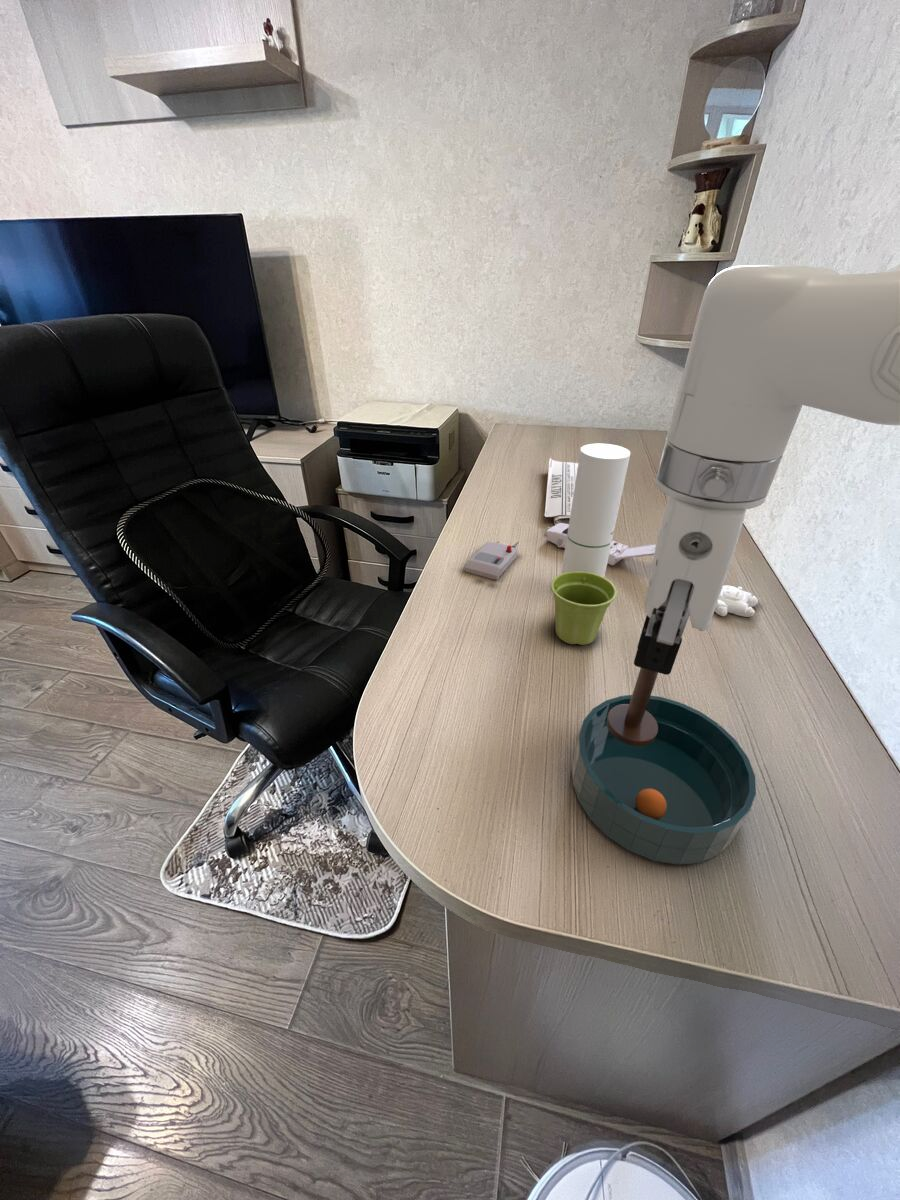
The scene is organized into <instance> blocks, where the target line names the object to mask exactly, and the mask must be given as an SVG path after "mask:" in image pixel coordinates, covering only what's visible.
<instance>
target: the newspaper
mask: <svg viewBox="0 0 900 1200" xmlns="http://www.w3.org/2000/svg"><path fill="white" fill-rule="evenodd" d="M578 463H579V462H573V461H572V462H571V461H570V462H569V461H558V460H554V459H552V458H551V457H549V462H548V472H547V481H546V483H547V484H546V496H545V507H544V517H545V518H553V523H554V525H556V524H558V523H565V524H569V521H570V514H571V508H572V501H573V495H574V488H575V482H576V476H577V469H578Z"/></svg>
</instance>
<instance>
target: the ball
mask: <svg viewBox="0 0 900 1200" xmlns="http://www.w3.org/2000/svg"><path fill="white" fill-rule="evenodd" d="M635 803H636V808H637V810H638V812H639V813H641V814H642V815H645V816H647V817H650V818H653V819H655V820H657V819H659V818H661V817H662V816H663V815H664V814H665V812H666V809H667V804H666V800H665V798H664V797H663V795H662V794H661V793H660V792H658V791H657V790H654V789H644V790H642V791H640V792H639V793H638V795H637V797H636V801H635Z"/></svg>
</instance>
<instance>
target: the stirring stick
mask: <svg viewBox="0 0 900 1200" xmlns="http://www.w3.org/2000/svg"><path fill="white" fill-rule="evenodd" d="M662 618H663V617H660V616H658V618H657V621H658V620H660V621H662ZM657 621H656V622H657ZM658 675H659V673H658V672H655V671H651V670H647V669H644V668H640V667H639V672H638V675H637V677H636V682H635V684H634V687H633V691H632V694H631V695H632V698H631V701H630V704H621V705H617V706H615V707H613V708H612V709H611V710H610V711H609V713H608V716H607V727H608V729H609V731H610V732H611V734H612V735H613V736H614V737H615V738H617V739H618V740H620V741H621V742H623V743H626V744H628V745H632V746H644V745H648V744H650V743H651V742H653V741H654V739H655V738H656V735H657V732H658V725H657V722H656V720H655V718H654V717H653V716H652V715H651V714H650V713H649V712H648V711H646V708H647V705H648V702H649V699H650V696H652V692H653V690H654V687H655V684H656V681H657V678H658Z"/></svg>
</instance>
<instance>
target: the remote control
mask: <svg viewBox="0 0 900 1200" xmlns="http://www.w3.org/2000/svg"><path fill="white" fill-rule="evenodd" d="M519 543H520V541H516V543H514V544H513V545H508V544H503V543H500V541H497V542H495V541H486V542H485V543H484V544H483V545H482V546H481V547H480V548H479V549H478V550H476V552H475V553H474V554H473V555H472V556H471V557H470V558H469V559H468V560H467V562H466V564H465V566H464V572H466V573H469V574H472V575H476V576H480V577H484V578H487V579H491V580H495V581H497V580H499V578H500V577H501V576H502V575H503V573H504V572H505V571H506V570H507V569H508V567H510V565H511V564H512V563H513V562H514V560H515V559H516V558H517V557H518V556H517V555H518V549H517V548H516V547H518V544H519Z"/></svg>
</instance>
